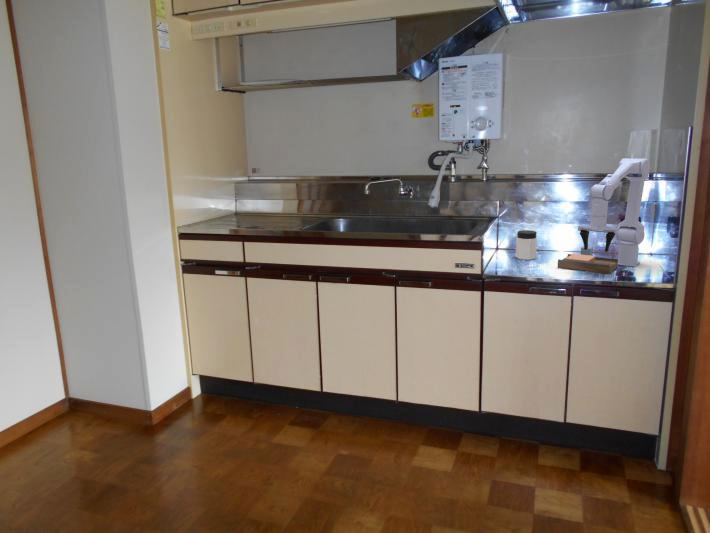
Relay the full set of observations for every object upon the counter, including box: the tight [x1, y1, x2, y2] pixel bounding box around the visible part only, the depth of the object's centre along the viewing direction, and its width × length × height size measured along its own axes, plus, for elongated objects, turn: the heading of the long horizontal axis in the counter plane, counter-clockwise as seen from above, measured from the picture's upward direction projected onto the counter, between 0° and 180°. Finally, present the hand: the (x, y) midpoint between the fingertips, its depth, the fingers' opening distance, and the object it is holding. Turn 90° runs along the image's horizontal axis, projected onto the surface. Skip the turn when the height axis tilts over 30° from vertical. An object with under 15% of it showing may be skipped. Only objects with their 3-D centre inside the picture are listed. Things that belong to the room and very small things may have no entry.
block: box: [580, 245, 594, 256], centre depth 240 cm, size 4×4×6 cm
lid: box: [564, 253, 596, 263], centre depth 229 cm, size 11×9×2 cm
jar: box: [515, 229, 538, 261], centre depth 248 cm, size 9×8×12 cm
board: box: [557, 253, 619, 275], centre depth 228 cm, size 14×20×4 cm
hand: (596, 250), depth 216 cm, fingers open, 7 cm apart
